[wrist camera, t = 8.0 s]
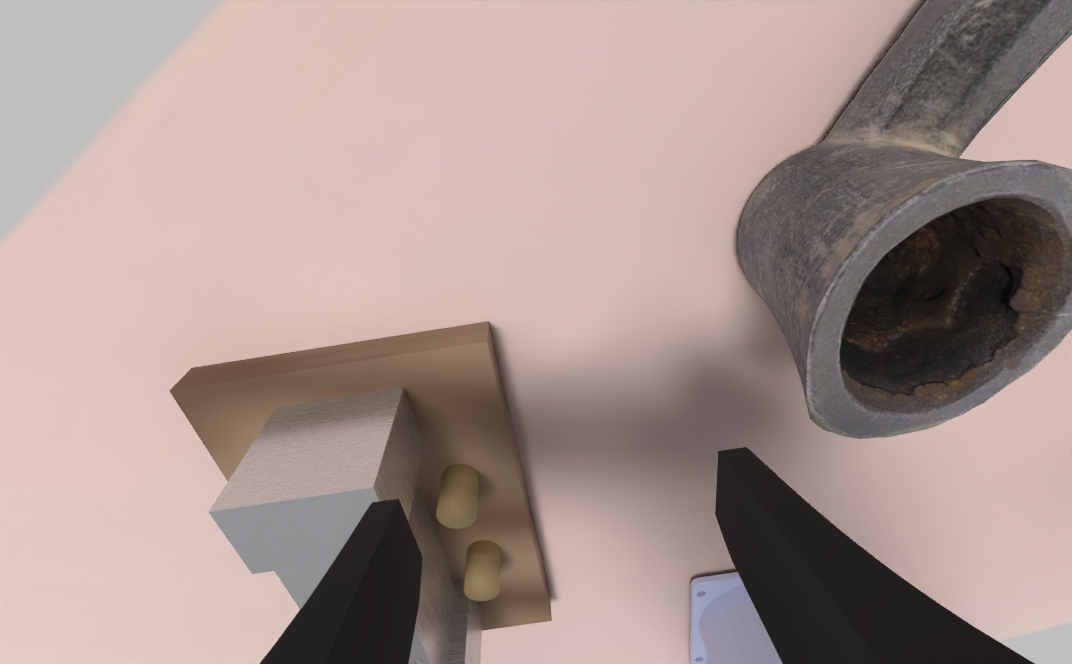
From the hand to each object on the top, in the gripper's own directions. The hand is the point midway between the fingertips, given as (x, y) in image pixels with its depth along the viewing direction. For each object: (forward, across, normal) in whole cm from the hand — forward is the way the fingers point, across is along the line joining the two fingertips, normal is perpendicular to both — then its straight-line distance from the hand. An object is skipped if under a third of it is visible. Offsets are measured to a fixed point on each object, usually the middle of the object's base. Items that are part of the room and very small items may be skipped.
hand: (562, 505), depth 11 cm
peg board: (+9, +8, +9) cm, 15 cm away
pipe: (+10, -11, -4) cm, 15 cm away
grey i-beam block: (+8, +8, +9) cm, 14 cm away
